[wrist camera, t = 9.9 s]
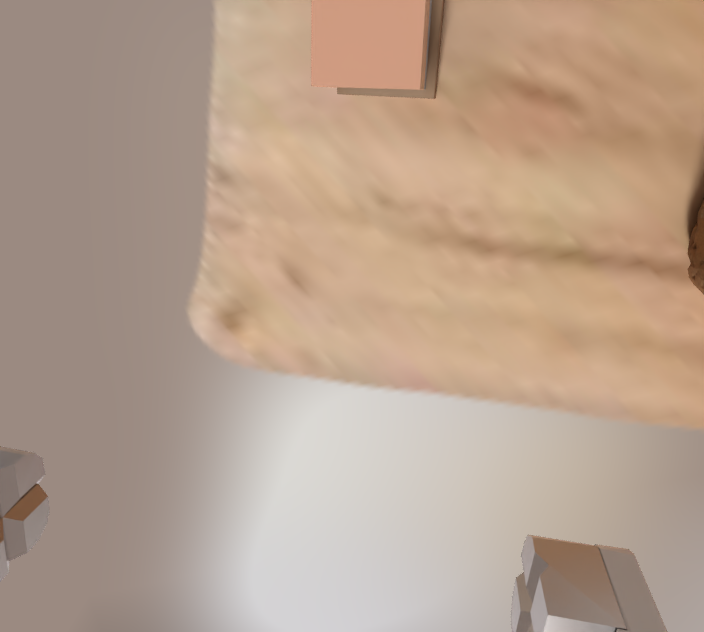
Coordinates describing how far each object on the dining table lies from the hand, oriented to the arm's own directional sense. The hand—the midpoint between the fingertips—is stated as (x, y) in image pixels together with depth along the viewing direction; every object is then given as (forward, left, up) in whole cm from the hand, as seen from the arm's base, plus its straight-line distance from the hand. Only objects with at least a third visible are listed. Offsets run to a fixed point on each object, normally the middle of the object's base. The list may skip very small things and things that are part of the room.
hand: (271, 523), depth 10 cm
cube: (-9, -2, -26) cm, 28 cm away
